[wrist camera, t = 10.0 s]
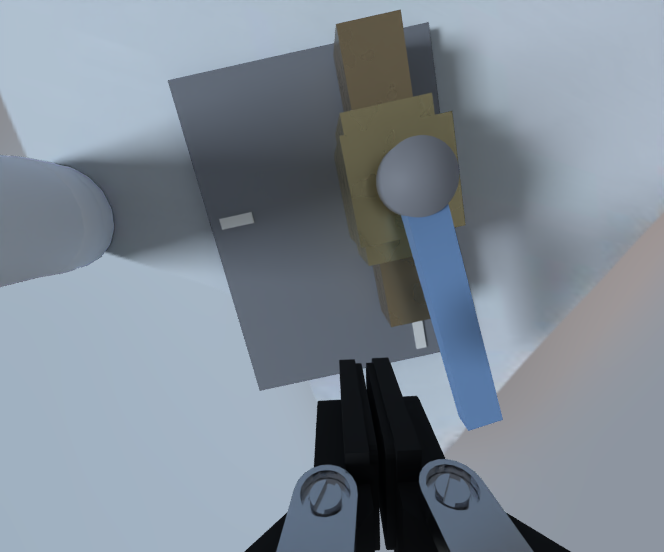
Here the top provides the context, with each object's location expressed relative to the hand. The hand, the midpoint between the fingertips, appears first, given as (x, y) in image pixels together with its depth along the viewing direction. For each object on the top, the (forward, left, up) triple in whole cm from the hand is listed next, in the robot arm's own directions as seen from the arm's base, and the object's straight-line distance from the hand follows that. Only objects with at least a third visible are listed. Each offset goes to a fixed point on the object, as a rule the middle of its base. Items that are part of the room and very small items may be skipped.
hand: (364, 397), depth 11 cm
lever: (-5, -1, -7) cm, 9 cm away
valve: (-5, -7, -15) cm, 18 cm away
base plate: (-1, -5, -15) cm, 16 cm away
